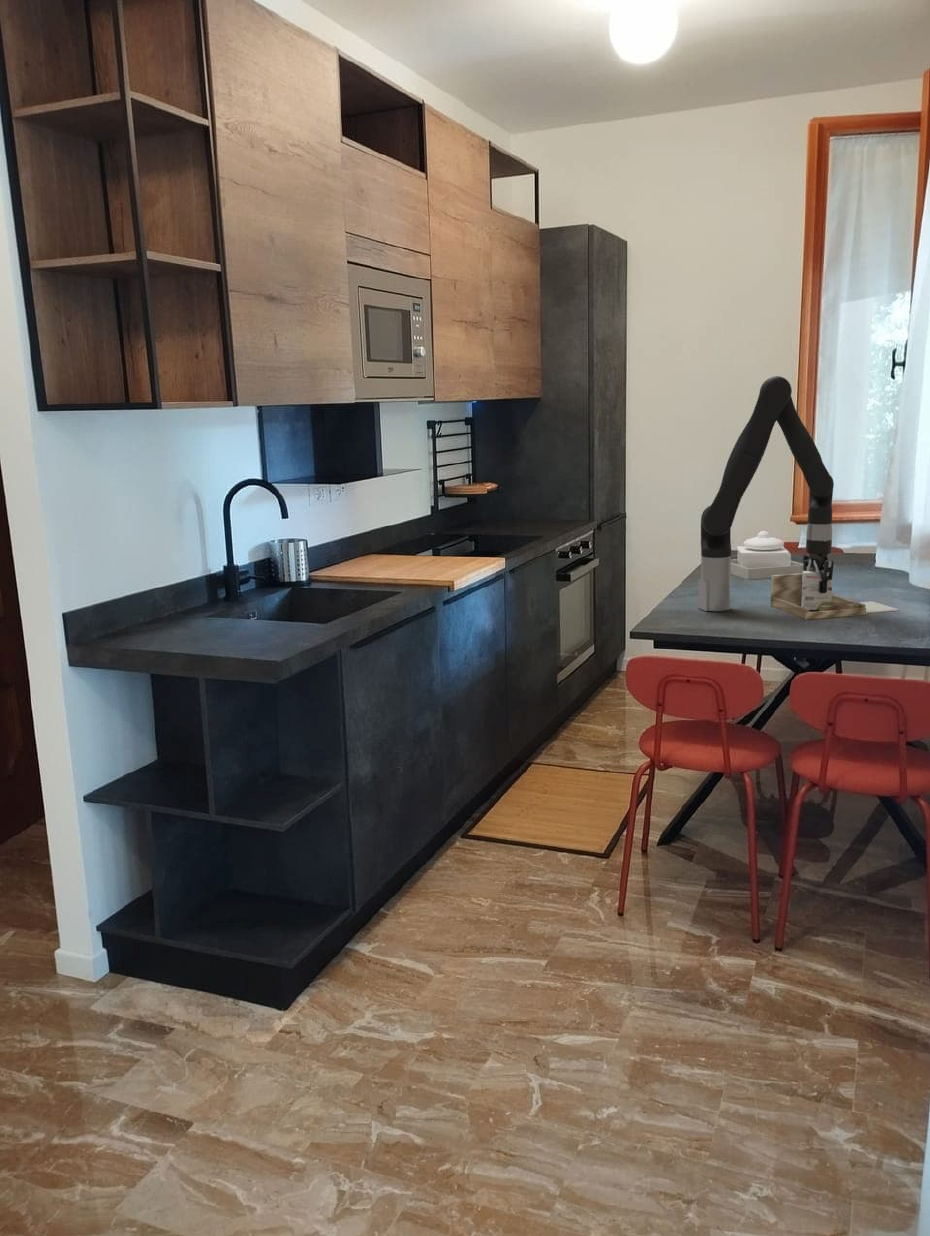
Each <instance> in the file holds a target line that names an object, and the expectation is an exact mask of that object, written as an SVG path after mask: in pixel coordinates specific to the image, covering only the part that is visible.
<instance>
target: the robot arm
mask: <svg viewBox="0 0 930 1236" xmlns="http://www.w3.org/2000/svg"><path fill="white" fill-rule="evenodd" d="M792 393H793V391H792V385H791V383H790V382H789V381H788V379H786V378H785V377H783V376H771V377H769V378H767V379H766V380H765V381H764V382H762V384H761V386H760V389H759V393H758V394H759V395H758V397H757V401H756V403H755V406H754V409H753V410H752V411H753V412H752V413H751V416H750V418H749V420H748V422H747V423H746V424H745V426H744V428H743V430H742V431H741V433H740V434H739V436H738V438H737V440H736V441H735V444H734V446H733V447H732V450H731V453H730V455H729V457H728V460H727V462H726V464H725V468H724V472H723V475H722V480H721V483H720V485H719V489H718V492H717V493H716V495H715V497H714V499H713V500H712V503H711V504H710V505H709V506H707V507H706V508H705V509H704V510H703V511H702V514H701V515H700V516H701V518H700V549H701V550H700V552H701V553H700V554H701V555H700V556H701V559H700V578H699V579H698V583H697V585H698V587H697V589H698V591H697V592H698V594H697V597H698V598H697V599H698V600H697V601H698V602H697V608H698V609H700V610H702V611H705V612H725V611H730V610H731V577H732V576H731V575H732V574H731V559H732V544H731V543H732V542H731V541H732V539H731V530H732V529H731V528H732V526H733V523H734V520H735V517H736V514H737V511H738V508H739V505H740V503H741V500H742V498H743V496H744V494H745V492H746V490H747V489H748V487H749V485H750V484H751V481H752V480H753V477H754V475H755V474H756V472H757V470H758V468H759V466H760V464H761V462H762V459H763V457H764V456H765V455H764V454H765V453H766V450H767V447H768V444H769V441H770V438H771V434H772V433H773V429H774V426H775V424H776V423H777V424H778V425H779V427H780V430H781V431H782V434H783V436H784V438H785V440H786V443H787V445H788V447H789V449H790V452H791V454H792V456H793V458H794V460H795V462H796V464H797V465H798V467H799V469H800V471H801V472H802V475H803V477H804V479H805V482H806V484H807V486H808V489H809V506H808V512H807V526H806V533H805V534H806V537H805V539H806V540H805V552H806V554H807V555H803V556H802V559H803V560H802V562H803V563H802V564H803V571H816V572H817V574H818V575H819V579H820V581H819V593H826V592H827V581H828V580H832V581H833V572H834V564H835V562H834V561H833V560H829V559H828V555H830V554H831V553H832V548H833V547H832V546H833V545H832V544H833V543H832V542H833V506H832V505H833V504H832V503H833V497H834V496H833V493H834V488H835V487H834V486H835V485H834V484H835V483H834V482H835V481H834V479H833V477H832V475H830V473H829V471H828V470H827V468H826V465H825V464H824V461H823V460H822V457H821V456H822V455H821V453H820V452H819V449H818V447H817V444H815V442H814V439H813V438H812V436H811V435H810V432H809V431H808V429H807V428H806V426H805V425H804V423H803V421H802V420H801V418H800V416H799V414H798V411H797V409H796V407H795V404H794V401H793V397H792ZM828 573H829V576H828ZM822 574H823V576H822Z"/></svg>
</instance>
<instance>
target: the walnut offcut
mask: <svg viewBox="0 0 930 1236" xmlns="http://www.w3.org/2000/svg"><path fill="white" fill-rule="evenodd" d="M840 609H845V605H842V604H837V605H832V604H831V605H823V606H820V610H819V611H828V610H840Z"/></svg>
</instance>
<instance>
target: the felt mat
mask: <svg viewBox="0 0 930 1236" xmlns="http://www.w3.org/2000/svg"><path fill="white" fill-rule="evenodd" d="M858 602H859V601H858ZM859 603H862V604H865V608H866V615H867V614H877V613H878V614H880V613H887V612H888V613H890V612H899V611H900V609H899V608H895V607H891V606H889V605H886V604H883V603H879V602H876V601H872V600H871V601H861V602H859Z"/></svg>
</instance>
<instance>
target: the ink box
mask: <svg viewBox="0 0 930 1236" xmlns="http://www.w3.org/2000/svg"><path fill="white" fill-rule="evenodd" d="M822 576H823V574H822ZM828 576H829V573H828ZM819 581H820V579H819V575H818V574H817V572H816V571H803V577H802V604H801V605H800V606H801V607H804V608H807V609H809V611H820V606H823V605H832V604H831V599H832V594H833V579H832V580H828V581H827V592H826V593H819Z"/></svg>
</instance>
